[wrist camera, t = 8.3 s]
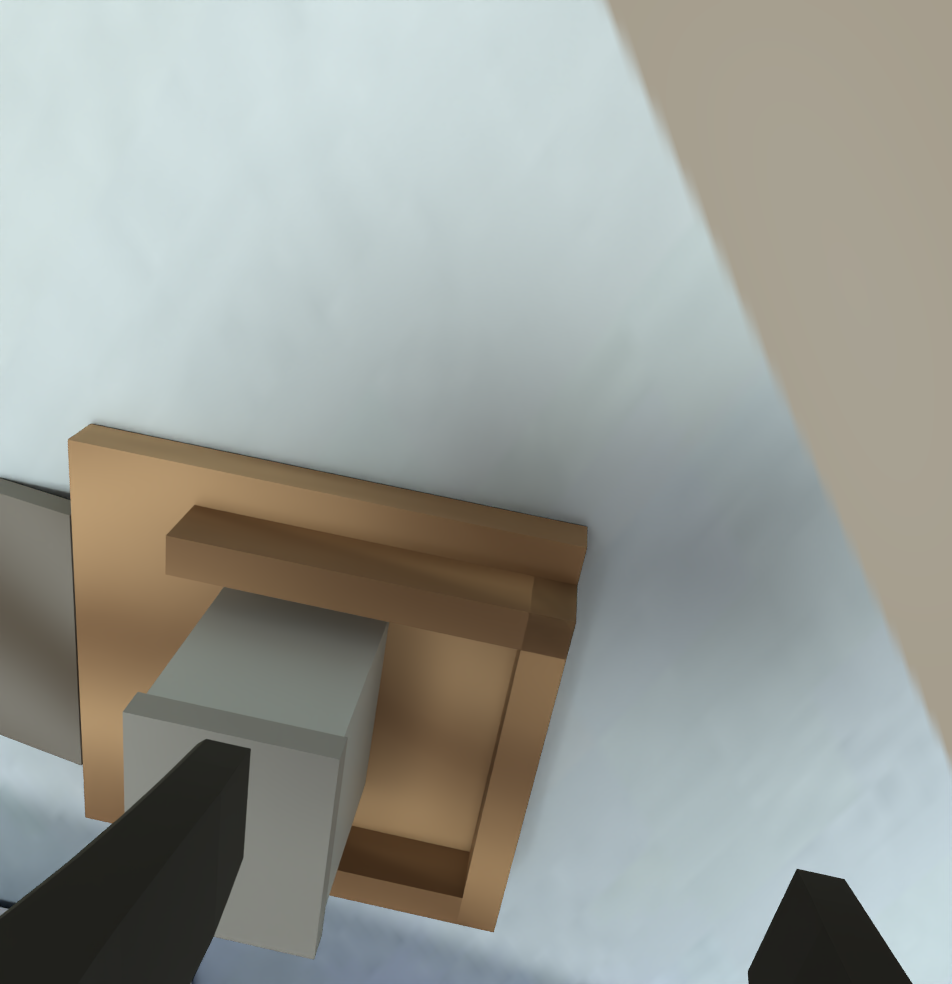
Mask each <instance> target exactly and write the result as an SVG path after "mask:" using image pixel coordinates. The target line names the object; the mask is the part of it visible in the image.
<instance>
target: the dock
mask: <svg viewBox="0 0 952 984" xmlns="http://www.w3.org/2000/svg"><path fill="white" fill-rule="evenodd" d="M68 456H69V477H70V498H71V500H68V499H65V498H61V497H58V496H55V495H52V494H49V493H46V492H43V491H39V490H36V489H33V488H30V487H27V486H24V485H20V484H17V483H14V482H11V481H8V480H5V479H1V478H0V735H3V736H5V737H8V738H11V739H13V740H16V741H19V742H21V743H24V744H26V745H29V746H32V747H34V748H37V749H40V750H42V751H45V752H47V753H50V754H53V755H55V756H58V757H61V758H63V759H66V760H69V761H71V762H74V763H76V764H79V765H82V764H83V776H84V797H85V817H86V818H91V819H95V820H100V821H104V822H109V823H114V822H115V821H116V820H117V819H118V818H119V817H121V816H122V815H123V814H124V813H125V811H124V760H123V711H124V709H125V708H126V707H127V705H128V704H129V703H130V701H131V700H132V699H133V697H134V696H135V695H136V693H137V692H141V693H147V692H148V691H149V689H150V688H151V687H152V685H153V684H154V682H155V681H156V680H157V678H158V677H159V675H160V674H161V673H162V671H163V670H164V669H165V667H166V666H167V664H168V663H169V662H170V660H171V659H172V658H173V656H174V655H175V653H176V652H177V651H178V649H179V648H180V647H181V645H182V644H183V642H184V641H185V640H186V638H187V637H188V636H189V634H190V633H191V631H192V630H193V629H194V627H195V626H196V625H197V623H198V622H199V620H200V619H201V618H202V616H203V615H204V614H205V612H206V611H207V609H208V608H209V607H210V605H211V604H212V603H213V601H214V600H215V598H216V597H217V596H218V594H219V593H220V591H221V590H222V589H223V587H227V588H231V589H236V590H241V591H245V592H250V593H255V594H259V595H264V596H269V597H273V598H278V599H283V600H287V601H292V602H297V603H302V604H306V605H311V606H316V607H320V608H325V609H330V610H334V611H339V612H344V613H348V614H353V615H358V616H363V617H367V618H372V619H377V620H381V621H386V622H389V626H388V633H387V639H386V646H385V653H384V660H383V666H382V673H381V680H380V687H379V693H378V700H377V707H376V714H375V720H374V727H373V734H372V741H371V747H370V754H369V761H368V768H367V774H366V781H365V786H364V789H363V792H362V795H361V798H360V802H359V805H358V808H357V811H356V814H355V817H354V820H353V823H352V826H351V829H350V832H349V835H348V839H347V842H346V845H345V848H344V851H343V854H342V857H341V860H340V863H339V866H338V869H337V872H336V876H335V879H334V882H333V885H332V888H331V891H330V894H329V895H330V896H335V897H339V898H344V899H348V900H353V901H357V902H361V903H366V904H370V905H375V906H379V907H384V908H388V909H392V910H397V911H401V912H406V913H410V914H415V915H419V916H423V917H428V918H432V919H437V920H441V921H446V922H450V923H454V924H459V925H463V926H468V927H472V928H477V929H481V930H485V931H490V932H494V929H495V925H496V922H497V918H498V914H499V910H500V907H501V903H502V899H503V895H504V891H505V888H506V884H507V880H508V876H509V873H510V869H511V865H512V861H513V858H514V854H515V850H516V846H517V843H518V839H519V835H520V831H521V828H522V824H523V820H524V816H525V812H526V809H527V805H528V801H529V797H530V794H531V790H532V786H533V782H534V779H535V775H536V771H537V767H538V764H539V760H540V756H541V752H542V749H543V745H544V741H545V737H546V733H547V730H548V726H549V722H550V718H551V715H552V711H553V707H554V703H555V700H556V696H557V692H558V688H559V685H560V681H561V677H562V673H563V669H564V666H565V662H566V658H567V654H568V651H569V647H570V643H571V639H572V636H573V632H574V628H575V624H576V608H577V584H578V581H579V577H580V573H581V569H582V565H583V561H584V558H585V554H586V550H587V527H586V526H581V525H576V524H571V523H566V522H562V521H557V520H552V519H547V518H542V517H537V516H533V515H528V514H523V513H518V512H513V511H509V510H504V509H499V508H494V507H489V506H484V505H480V504H475V503H470V502H465V501H460V500H455V499H451V498H446V497H441V496H436V495H431V494H427V493H422V492H417V491H412V490H407V489H402V488H398V487H393V486H388V485H383V484H378V483H373V482H369V481H364V480H359V479H354V478H349V477H345V476H340V475H335V474H330V473H325V472H320V471H316V470H311V469H306V468H301V467H296V466H291V465H287V464H282V463H277V462H272V461H267V460H263V459H258V458H253V457H248V456H243V455H238V454H234V453H229V452H224V451H219V450H214V449H209V448H205V447H200V446H195V445H190V444H185V443H181V442H176V441H171V440H166V439H161V438H156V437H152V436H147V435H142V434H137V433H132V432H127V431H123V430H118V429H113V428H108V427H103V426H99V425H94V424H90V425H88V426H87V427H85V428H84V429H82V430H81V431H79V432H78V433H77V434H75V435H74V436H72V437H71V438H69V439H68Z"/></svg>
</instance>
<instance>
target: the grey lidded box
mask: <svg viewBox="0 0 952 984" xmlns="http://www.w3.org/2000/svg"><path fill="white" fill-rule="evenodd" d="M388 626H389V622H386V621H381V620H377V619H372V618H367V617H363V616H358V615H353V614H348V613H344V612H339V611H334V610H330V609H325V608H320V607H316V606H311V605H306V604H302V603H297V602H292V601H287V600H283V599H278V598H273V597H269V596H264V595H259V594H255V593H250V592H245V591H241V590H236V589H231V588H227V587H223V589H222V590H221V591H220V593H219V594H218V596H217V597H216V598H215V600H214V601H213V603H212V604H211V605H210V607H209V608H208V609H207V611H206V612H205V614H204V615H203V616H202V618H201V619H200V620H199V622H198V623H197V625H196V626H195V627H194V629H193V630H192V631H191V633H190V634H189V636H188V637H187V638H186V640H185V641H184V642H183V644H182V645H181V647H180V648H179V649H178V651H177V652H176V653H175V655H174V656H173V658H172V659H171V660H170V662H169V663H168V664H167V666H166V667H165V669H164V670H163V671H162V673H161V674H160V675H159V677H158V678H157V680H156V681H155V682H154V684H153V685H152V687H151V688H150V689H149V691H148V692H147V693H141V692H137V693H136V695H135V696H134V697H133V699H132V700H131V701H130V703H129V704H128V705H127V707H126V708H125V709H124V711H123V760H124V811H125V812H126V811H127V810H128V809H129V808H130V807H132V806H133V805H134V804H135V803H136V802H137V801H138V800H139V799H140V798H141V797H142V796H144V795H145V794H146V793H147V792H148V791H149V790H150V789H151V788H152V787H153V786H154V785H155V784H156V783H158V782H159V781H160V780H161V779H162V778H163V777H164V776H165V775H166V774H167V773H168V772H169V771H170V770H171V769H172V768H173V767H174V766H175V765H176V764H177V763H178V762H179V761H180V760H181V759H182V758H183V757H184V756H185V755H186V754H187V753H188V752H189V751H190V750H192V749H193V748H194V747H195V746H196V745H197V744H198V743H199V742H201V741H203V740H205V739H209V740H214V741H219V742H223V743H228V744H232V745H237V746H241V747H246V748H250V749H251V754H250V769H249V784H248V799H247V813H246V828H245V843H244V858H243V860H242V863H241V866H240V869H239V871H238V874H237V877H236V879H235V882H234V885H233V888H232V890H231V893H230V896H229V898H228V901H227V904H226V906H225V909H224V911H223V914H222V917H221V919H220V922H219V924H218V927H217V930H216V932H215V935H214V937H218V938H222V939H226V940H231V941H235V942H239V943H244V944H248V945H253V946H257V947H261V948H266V949H270V950H274V951H279V952H283V953H288V954H292V955H296V956H301V957H305V958H309V959H314V958H315V955H316V952H317V948H318V945H319V942H320V939H321V936H322V930H323V922H324V914H325V907H326V903H327V900H328V897H329V894H330V891H331V888H332V885H333V882H334V879H335V876H336V872H337V869H338V866H339V863H340V860H341V857H342V854H343V851H344V848H345V845H346V842H347V839H348V835H349V832H350V829H351V826H352V823H353V820H354V817H355V814H356V811H357V808H358V805H359V802H360V798H361V795H362V792H363V789H364V786H365V781H366V774H367V768H368V761H369V754H370V747H371V741H372V734H373V727H374V720H375V714H376V707H377V700H378V693H379V687H380V680H381V673H382V666H383V660H384V653H385V646H386V639H387V633H388Z"/></svg>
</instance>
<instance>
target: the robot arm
mask: <svg viewBox="0 0 952 984" xmlns="http://www.w3.org/2000/svg"><path fill="white" fill-rule="evenodd" d="M250 754H251V749H250V748H246V747H241V746H237V745H232V744H228V743H223V742H219V741H214V740H209V739H205V740H203V741H201V742H199V743H198V744H197V745H196V746H195V747H194V748H193V749H192V750H190V751H189V752H188V753H187V754H186V755H185V756H184V757H183V758H182V759H181V760H180V761H179V762H178V763H177V764H176V765H175V766H174V767H173V768H172V769H171V770H170V771H169V772H168V773H167V774H166V775H165V776H164V777H163V778H162V779H161V780H160V781H159V782H158V783H156V784H155V785H154V786H153V787H152V788H151V789H150V790H149V791H148V792H147V793H146V794H145V795H144V796H142V797H141V798H140V799H139V800H138V801H137V802H136V803H135V804H134V805H133V806H132V807H130V808H129V809H128V810H127V811H126V812H125V813H124V814H123V815H122V816H121V817H119V818H118V819H117V820H116V821H115V822H114V823H112V824H111V825H110V826H109V827H108V828H107V829H106V830H104V831H103V832H102V833H101V834H100V835H99V836H97V837H96V838H95V839H94V840H93V841H92V842H91V843H89V844H88V845H87V846H86V847H85V848H84V849H82V850H81V851H80V852H79V853H78V854H77V855H76V856H74V857H73V858H72V859H71V860H70V861H68V862H67V863H66V864H65V865H64V866H62V867H61V868H60V869H59V870H57V871H56V872H55V873H54V874H52V875H51V876H50V877H48V878H47V879H46V880H45V881H43V882H42V883H41V884H40V885H38V886H37V887H36V888H35V889H33V890H32V891H31V892H29V893H28V894H27V895H26V896H24V897H23V898H22V899H21V900H19V901H18V902H17V903H16V904H14V905H13V906H12V907H11V908H9V909H7V908H3V907H0V984H191V981H192V979H193V977H194V975H195V973H196V971H197V969H198V967H199V965H200V963H201V961H202V959H203V957H204V955H205V953H206V951H207V949H208V947H209V945H210V943H211V941H212V939H213V937H214V935H215V932H216V930H217V927H218V924H219V922H220V919H221V917H222V914H223V911H224V909H225V906H226V904H227V901H228V898H229V896H230V893H231V890H232V888H233V885H234V882H235V879H236V877H237V874H238V871H239V869H240V866H241V863H242V860H243V858H244V843H245V828H246V813H247V799H248V784H249V769H250ZM748 981H749V984H912V982H911V981H910V979H909V978H908V976H907V975H906V973H905V972H904V970H903V969H902V967H901V965H900V964H899V962H898V961H897V959H896V958H895V956H894V955H893V953H892V952H891V950H890V949H889V947H888V945H887V944H886V942H885V941H884V939H883V938H882V936H881V935H880V933H879V932H878V930H877V928H876V927H875V925H874V924H873V922H872V921H871V919H870V918H869V916H868V915H867V913H866V911H865V910H864V908H863V907H862V905H861V904H860V902H859V901H858V899H857V898H856V896H855V894H854V893H853V891H852V890H851V888H850V887H849V885H848V884H847V882H846V881H845V879H841V878H836V877H832V876H827V875H823V874H818V873H814V872H809V871H805V870H800V869H797V870H796V872H795V874H794V876H793V878H792V880H791V882H790V884H789V886H788V888H787V891H786V893H785V895H784V897H783V899H782V901H781V903H780V905H779V907H778V909H777V911H776V914H775V916H774V918H773V920H772V922H771V924H770V926H769V928H768V930H767V932H766V934H765V937H764V939H763V941H762V943H761V945H760V947H759V949H758V951H757V953H756V955H755V958H754V960H753V962H752V964H751V966H750V968H749V970H748Z"/></svg>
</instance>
